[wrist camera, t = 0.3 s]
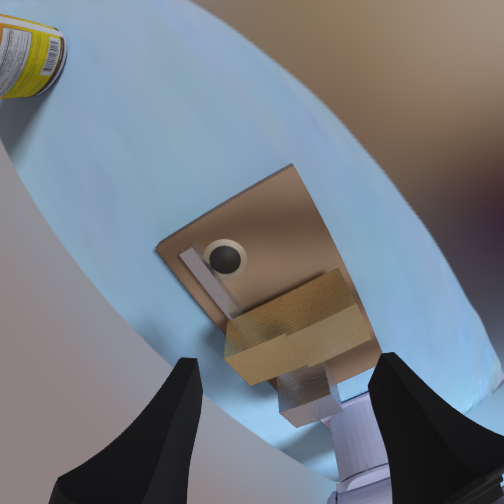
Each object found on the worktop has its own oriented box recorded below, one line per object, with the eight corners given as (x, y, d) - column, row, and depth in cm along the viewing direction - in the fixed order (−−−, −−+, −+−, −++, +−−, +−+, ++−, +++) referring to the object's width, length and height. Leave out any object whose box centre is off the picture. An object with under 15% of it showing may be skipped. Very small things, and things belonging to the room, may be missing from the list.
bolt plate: (381, 353, 24) (385, 362, 23) (287, 394, 26) (288, 403, 25) (291, 163, 17) (294, 166, 16) (159, 242, 19) (154, 249, 18)
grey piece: (334, 371, 23) (345, 413, 19) (293, 387, 24) (298, 430, 20) (235, 218, 17) (229, 252, 13) (181, 249, 18) (161, 289, 14)
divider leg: (350, 294, 19) (371, 338, 15) (250, 341, 21) (250, 389, 17) (334, 261, 18) (356, 303, 14) (228, 314, 20) (223, 362, 15)
